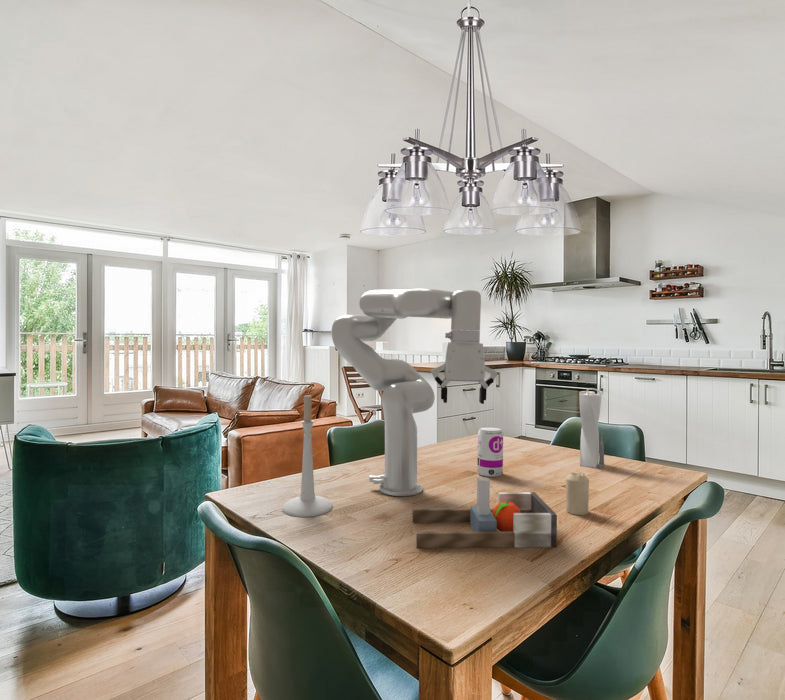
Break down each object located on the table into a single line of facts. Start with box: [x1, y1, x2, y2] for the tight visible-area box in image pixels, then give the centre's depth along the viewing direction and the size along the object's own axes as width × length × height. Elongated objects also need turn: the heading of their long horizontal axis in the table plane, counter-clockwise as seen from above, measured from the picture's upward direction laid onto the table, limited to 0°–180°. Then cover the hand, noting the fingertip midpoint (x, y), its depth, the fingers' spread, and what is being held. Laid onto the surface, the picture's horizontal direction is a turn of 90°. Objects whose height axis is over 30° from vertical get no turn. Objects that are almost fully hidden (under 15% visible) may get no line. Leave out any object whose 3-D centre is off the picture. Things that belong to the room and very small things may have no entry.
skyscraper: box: [578, 387, 605, 470], centre depth 173 cm, size 8×8×28 cm
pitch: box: [411, 491, 558, 549], centre depth 113 cm, size 30×15×7 cm, turn 91°
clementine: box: [492, 502, 521, 531], centre depth 113 cm, size 8×7×7 cm
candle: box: [565, 472, 590, 516], centre depth 127 cm, size 6×6×10 cm
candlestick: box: [282, 394, 333, 518], centre depth 129 cm, size 13×13×30 cm
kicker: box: [469, 477, 498, 531], centre depth 113 cm, size 4×10×12 cm, turn 1°
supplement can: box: [477, 426, 504, 478], centre depth 162 cm, size 8×8×15 cm
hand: (463, 402), depth 129 cm, fingers open, 9 cm apart
